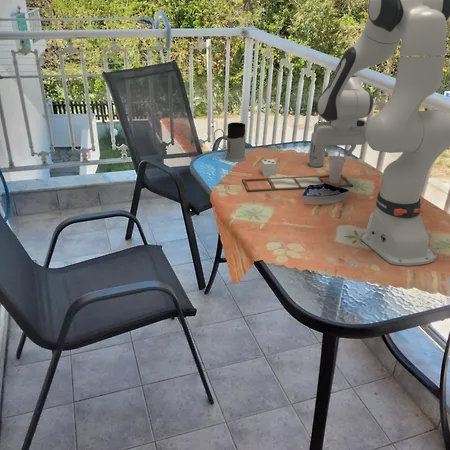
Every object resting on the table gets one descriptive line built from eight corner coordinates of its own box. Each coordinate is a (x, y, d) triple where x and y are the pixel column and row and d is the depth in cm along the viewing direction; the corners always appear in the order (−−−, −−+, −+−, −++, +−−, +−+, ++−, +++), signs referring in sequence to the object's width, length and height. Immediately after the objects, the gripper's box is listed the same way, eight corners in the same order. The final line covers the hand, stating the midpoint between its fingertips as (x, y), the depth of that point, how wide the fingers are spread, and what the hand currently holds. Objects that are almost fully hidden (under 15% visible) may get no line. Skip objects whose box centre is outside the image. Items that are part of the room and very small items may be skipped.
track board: (353, 186, 178) (353, 185, 178) (247, 192, 172) (247, 190, 172) (342, 175, 187) (342, 174, 187) (242, 180, 182) (242, 179, 182)
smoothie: (344, 185, 179) (349, 150, 172) (327, 184, 179) (331, 149, 172) (340, 178, 185) (345, 144, 178) (324, 178, 185) (328, 144, 178)
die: (275, 175, 187) (276, 163, 185) (263, 175, 187) (264, 163, 184) (272, 170, 192) (273, 159, 189) (260, 171, 191) (261, 159, 189)
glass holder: (248, 161, 201) (249, 127, 194) (216, 163, 198) (216, 129, 191) (242, 154, 208) (243, 121, 201) (211, 157, 205) (211, 123, 198)
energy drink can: (305, 164, 199) (309, 129, 192) (317, 162, 201) (321, 127, 194) (313, 168, 194) (317, 133, 187) (325, 166, 196) (330, 131, 189)
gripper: (317, 123, 166) (313, 160, 173) (371, 121, 169) (365, 157, 176) (311, 118, 172) (308, 154, 179) (364, 116, 175) (358, 152, 181)
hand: (337, 155), depth 177 cm, fingers open, 8 cm apart
